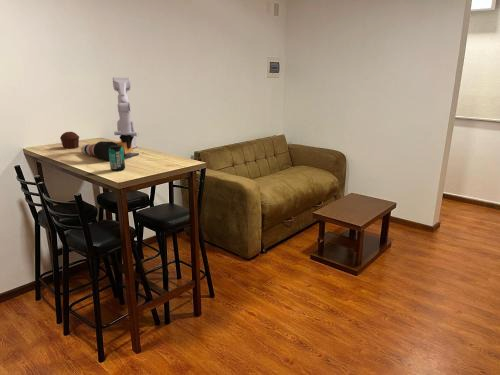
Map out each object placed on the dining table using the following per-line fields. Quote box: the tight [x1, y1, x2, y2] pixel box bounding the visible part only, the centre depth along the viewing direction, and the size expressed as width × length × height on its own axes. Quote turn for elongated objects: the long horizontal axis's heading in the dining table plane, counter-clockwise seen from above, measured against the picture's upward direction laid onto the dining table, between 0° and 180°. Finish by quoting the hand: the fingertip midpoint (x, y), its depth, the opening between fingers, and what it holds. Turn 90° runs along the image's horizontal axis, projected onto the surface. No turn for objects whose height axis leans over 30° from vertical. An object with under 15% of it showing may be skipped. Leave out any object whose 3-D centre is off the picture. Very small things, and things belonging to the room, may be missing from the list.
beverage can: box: [109, 145, 126, 172], centre depth 196 cm, size 7×7×12 cm
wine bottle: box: [80, 140, 117, 161], centre depth 226 cm, size 10×34×10 cm, turn 48°
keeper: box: [124, 152, 139, 160], centre depth 227 cm, size 14×11×4 cm
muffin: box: [59, 131, 80, 150], centre depth 251 cm, size 12×11×10 cm
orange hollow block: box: [114, 140, 134, 154], centre depth 226 cm, size 8×8×6 cm
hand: (127, 148), depth 225 cm, fingers closed on orange hollow block
